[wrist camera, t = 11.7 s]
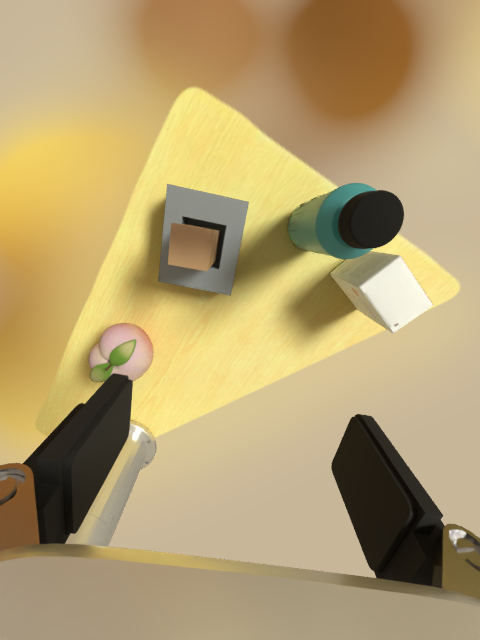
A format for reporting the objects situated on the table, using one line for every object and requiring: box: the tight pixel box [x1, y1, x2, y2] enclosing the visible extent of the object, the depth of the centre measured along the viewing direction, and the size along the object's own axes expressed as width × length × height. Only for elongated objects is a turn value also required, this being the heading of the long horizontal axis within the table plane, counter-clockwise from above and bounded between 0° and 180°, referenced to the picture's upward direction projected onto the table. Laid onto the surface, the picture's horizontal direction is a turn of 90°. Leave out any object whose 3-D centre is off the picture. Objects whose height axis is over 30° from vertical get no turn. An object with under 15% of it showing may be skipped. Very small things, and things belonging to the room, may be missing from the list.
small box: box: [330, 251, 433, 333], centre depth 34 cm, size 8×6×10 cm
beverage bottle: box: [287, 183, 404, 259], centre depth 27 cm, size 6×7×20 cm
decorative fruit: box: [89, 323, 153, 382], centre depth 38 cm, size 9×8×10 cm
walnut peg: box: [168, 223, 221, 271], centre depth 30 cm, size 4×4×12 cm
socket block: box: [158, 184, 249, 295], centre depth 35 cm, size 12×10×5 cm
